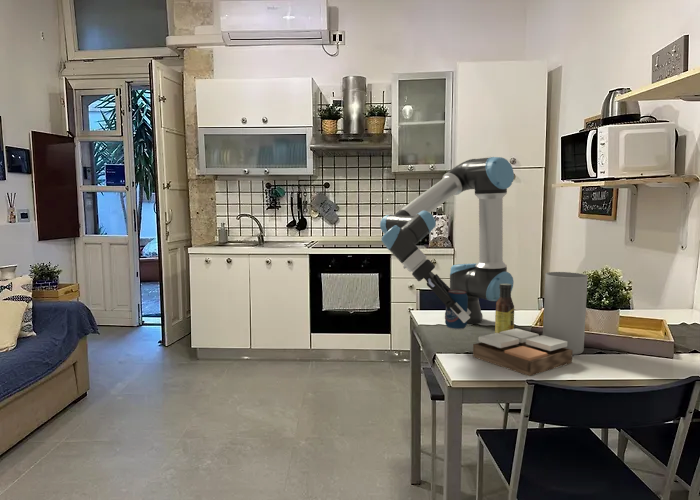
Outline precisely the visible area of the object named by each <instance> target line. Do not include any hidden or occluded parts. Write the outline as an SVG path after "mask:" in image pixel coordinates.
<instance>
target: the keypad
mask: <svg viewBox="0 0 700 500" xmlns="http://www.w3.org/2000/svg"><path fill="white" fill-rule="evenodd" d="M520 346H525V347H528V348H532V349H535V350H539V351H542V352H546V353H547V356H545V357H541V358H538V359H534V360H531V361H528V360H525V359H522V358H519V357H515V356H512V355H509V354H506V353H504V352H505V350H508V349H512V348H516V347H520ZM572 351H573V350H571V349H567V348H560V349H556V350H553V351H548V350H545V349H541V348H538V347H534V346H531V345H527V344H526V342H524V343H520V342H519V344H516V345H512V346H508V347H504V348H498V347H495V346H492V345H489V344H485V343H482V342H478V343H477V342H476V343H473V347H472V357H473V358H476V359H479V360H482V361H485V362H487V363H491V364H492V365H495V366H499V367H502V368H504V367H505V369H507V368H508V370H511V371H514V372H517V373H520V374H521V375H525V376H528V377H531V376H534V375H537V374H541V373H544V372H547V371H550V370H554V369H556V368H561V367H563V366H566V365H569V364H572V363H573V355H572Z"/></svg>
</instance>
